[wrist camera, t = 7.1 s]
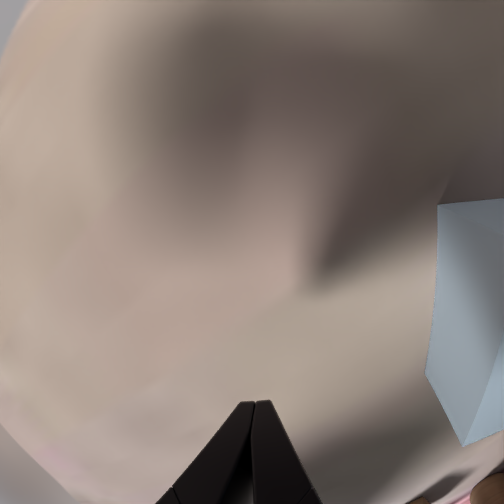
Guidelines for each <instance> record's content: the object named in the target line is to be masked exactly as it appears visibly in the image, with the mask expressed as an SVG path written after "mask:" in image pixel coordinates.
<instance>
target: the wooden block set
mask: <svg viewBox="0 0 504 504" xmlns="http://www.w3.org/2000/svg"><path fill="white" fill-rule="evenodd" d="M470 503H471V504H504V474H503V473H495V474H493V475H491V476H488V477H487V478H485V479H484V480H482V481H481V482H480V483H478V484H477V485H476V486H475V487H474V488H473V490H472V492H471V495H470ZM409 504H430V503H429V502H428V501H427V500H426V499H425V498H424V497H421V498H419V499H417V500H415V501H413V502H411V503H409Z"/></svg>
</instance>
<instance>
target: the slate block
mask: <svg viewBox="0 0 504 504" xmlns="http://www.w3.org/2000/svg"><path fill="white" fill-rule="evenodd" d="M437 217H438V241H437V271H436V287H435V299H434V310H433V319H432V327H431V335H430V342H429V349H428V355H427V361H426V367H425V375H426V377H427V379H428V381H429V382H430V384H431V386H432V388H433V390H434V392H435V394H436V396H437V397H438V399H439V401H440V403H441V405H442V407H443V409H444V411H445V413H446V415H447V417H448V419H449V421H450V423H451V425H452V427H453V429H454V431H455V433H456V435H457V437H458V439H459V441H460V444H461V446H462V447H463V446H466V445H468V444H471V443H474V442H476V441H478V440H481V439H483V438H486V437H488V436H490V435H493V434H495V433H497V432H499V431H501V430H503V429H504V198H500V199H489V200H479V201H469V202H459V203H449V204H440V205H437Z"/></svg>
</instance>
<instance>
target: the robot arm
mask: <svg viewBox="0 0 504 504" xmlns="http://www.w3.org/2000/svg"><path fill="white" fill-rule="evenodd" d="M172 487H173V488H172ZM172 487H170V488H169V489H168V491H167V492H166V493H165V494H164V495H163V496H162V497H161V498H160V499H159V500H158V501H157V502H156V503H155V504H323V503H322V502H321V500H320V498H319V496H318V494H317V492H316V490H315V489H314V488H313V485H312V483H311V481H310V479H309V477H308V475H307V473H306V471H305V469H304V467H303V465H302V463H301V461H300V459H299V457H298V455H297V453H296V451H295V449H294V447H293V445H292V443H291V441H290V439H289V437H288V435H287V433H286V431H285V429H284V427H283V425H282V422H281V420H280V418H279V416H278V414H277V412H276V410H275V408H274V406H273V404H272V402H271V401H270V400H261V401H257V402H256V403H255V402H254V401H244V402H240V403H239V404H238V405H237V407H236V408H235V409H234V411H233V412H232V413H231V414H230V416H229V417H228V418H227V420H226V421H225V422H224V423H223V425H222V426H221V427H220V429H219V430H218V431H217V432H216V434H215V435H214V436H213V437H212V439H211V440H210V441H209V442H208V444H207V445H206V446H205V447H204V448H203V450H202V451H201V452H200V453H199V455H198V456H197V457H196V458H195V459H194V461H193V462H192V463H191V464H190V465H189V466H188V468H187V469H186V470H185V471H184V472H183V474H182V475H181V476H180V477H179V478H178V479H177V480H176V482H175V483H174V484H173V485H172Z"/></svg>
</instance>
